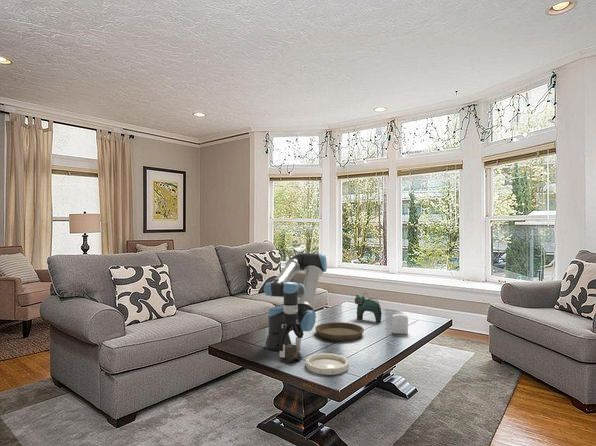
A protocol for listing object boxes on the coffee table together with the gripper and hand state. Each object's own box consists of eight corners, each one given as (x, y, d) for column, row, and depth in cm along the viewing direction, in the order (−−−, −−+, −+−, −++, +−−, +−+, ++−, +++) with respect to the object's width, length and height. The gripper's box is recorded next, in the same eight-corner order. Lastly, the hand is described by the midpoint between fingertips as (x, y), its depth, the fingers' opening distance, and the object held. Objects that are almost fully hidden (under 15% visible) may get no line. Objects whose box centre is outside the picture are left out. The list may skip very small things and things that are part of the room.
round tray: (297, 367, 184) (297, 362, 184) (321, 355, 201) (321, 350, 201) (334, 378, 171) (334, 372, 171) (356, 364, 188) (356, 359, 188)
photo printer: (407, 332, 244) (407, 313, 244) (408, 334, 240) (408, 315, 240) (391, 332, 245) (391, 313, 245) (392, 333, 241) (392, 314, 241)
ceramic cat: (354, 318, 278) (354, 292, 278) (357, 317, 284) (357, 290, 284) (379, 323, 267) (379, 295, 267) (382, 321, 272) (382, 293, 272)
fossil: (276, 361, 191) (279, 341, 195) (282, 364, 198) (285, 345, 203) (296, 363, 187) (298, 343, 192) (301, 366, 195) (304, 346, 199)
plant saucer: (319, 326, 258) (319, 320, 258) (364, 329, 251) (364, 322, 251) (311, 340, 227) (311, 333, 227) (363, 344, 221) (363, 336, 221)
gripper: (281, 318, 182) (280, 361, 182) (310, 309, 202) (309, 348, 202) (269, 315, 187) (269, 358, 187) (298, 307, 207) (298, 346, 207)
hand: (290, 353), depth 194 cm, fingers open, 13 cm apart
